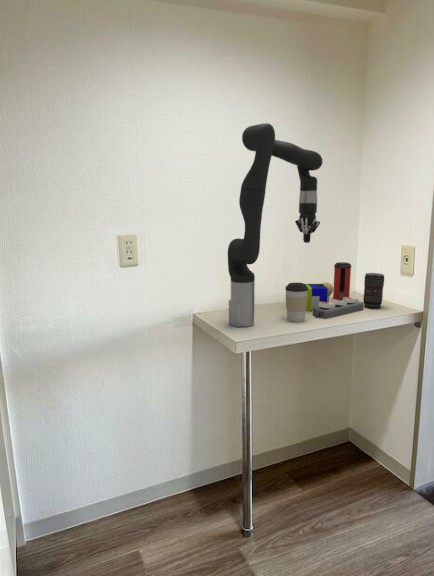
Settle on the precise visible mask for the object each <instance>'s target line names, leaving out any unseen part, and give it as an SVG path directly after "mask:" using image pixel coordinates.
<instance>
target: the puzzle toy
mask: <svg viewBox="0 0 434 576" xmlns="http://www.w3.org/2000/svg"><path fill="white" fill-rule="evenodd" d="M305 284H306V286H307V287H308V292H307V304H306V310H305V312H313V308H314V307H318V305H319V302H320V301H321V302H327V293H328V288H327V287H325V286H324V285H323V284H322V283H305Z"/></svg>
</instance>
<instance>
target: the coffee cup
mask: <svg viewBox="0 0 434 576" xmlns="http://www.w3.org/2000/svg"><path fill="white" fill-rule="evenodd" d="M306 284H307V283H303V282H289V283H288V284H287V285H285V288H284V290H285V309H286V320H287V321H289V322H294V323H296V322H297V323H298V322H300V323H302V322H304V321H305V318H306V311H305V310H306V304H307V292H308V287H307V286H306Z"/></svg>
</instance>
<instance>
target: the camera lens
mask: <svg viewBox="0 0 434 576" xmlns="http://www.w3.org/2000/svg"><path fill="white" fill-rule="evenodd" d="M363 283H364V288H363V303H364V306H363V308H366V309H370V310H371V309H372V310H375V309H376V310H378V309H380V308H381V305H382V301H383V296H384V295H383V294H384V293H383V292H384V285H385V274H383V273H376V272H367V273H365V275H364V282H363Z"/></svg>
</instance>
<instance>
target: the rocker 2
mask: <svg viewBox="0 0 434 576" xmlns="http://www.w3.org/2000/svg"><path fill="white" fill-rule="evenodd" d="M330 303H333V304H337V305H342V306H346V305H347V302H344V301H342V300H337V299H333V297H332V298H331V301H330Z"/></svg>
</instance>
